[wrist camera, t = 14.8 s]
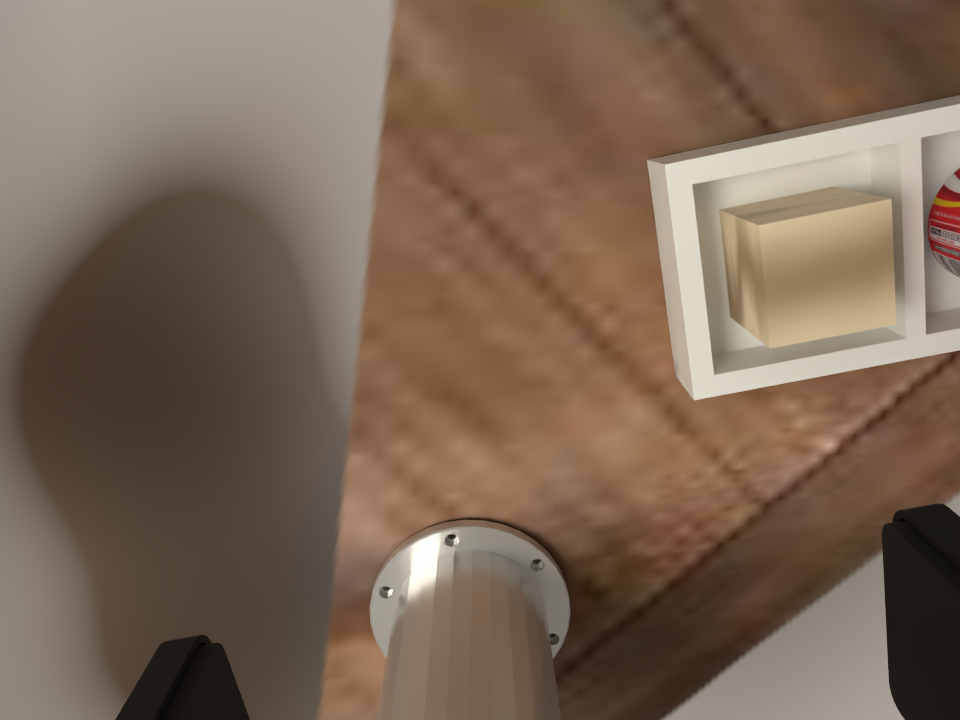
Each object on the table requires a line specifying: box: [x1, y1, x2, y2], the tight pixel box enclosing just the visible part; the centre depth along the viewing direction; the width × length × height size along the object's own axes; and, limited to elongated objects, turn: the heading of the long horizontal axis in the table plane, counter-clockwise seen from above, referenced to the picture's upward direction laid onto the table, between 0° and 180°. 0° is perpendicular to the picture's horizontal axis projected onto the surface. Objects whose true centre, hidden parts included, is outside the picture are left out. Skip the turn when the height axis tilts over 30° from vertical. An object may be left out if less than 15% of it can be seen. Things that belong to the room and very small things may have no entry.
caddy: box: [647, 95, 960, 400], centre depth 40 cm, size 12×23×4 cm, turn 101°
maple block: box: [719, 187, 896, 349], centre depth 39 cm, size 6×6×6 cm
